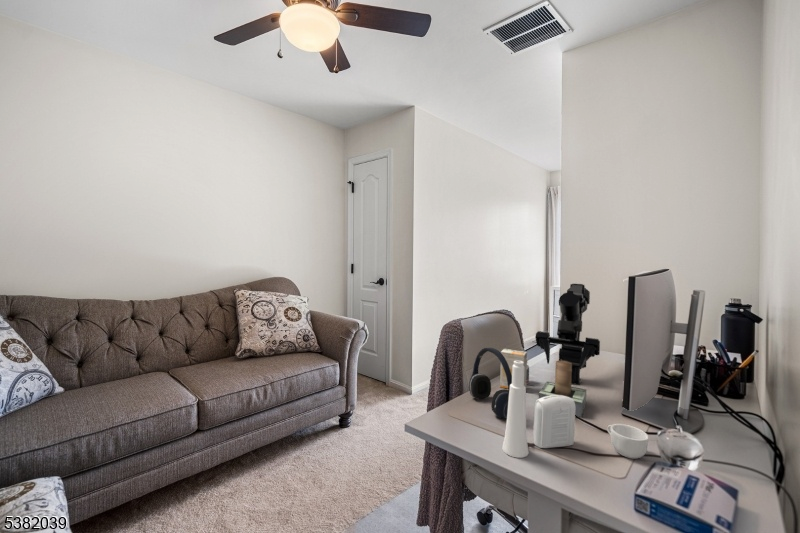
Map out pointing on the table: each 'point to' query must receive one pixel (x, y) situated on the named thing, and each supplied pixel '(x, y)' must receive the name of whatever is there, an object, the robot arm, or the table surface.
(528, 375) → the pill bottle
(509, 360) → the supplement box
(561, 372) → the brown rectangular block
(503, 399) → the headphones
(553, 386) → the money box
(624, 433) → the teacup
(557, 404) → the photo printer
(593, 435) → the table surface
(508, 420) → the cosmetic bottle
